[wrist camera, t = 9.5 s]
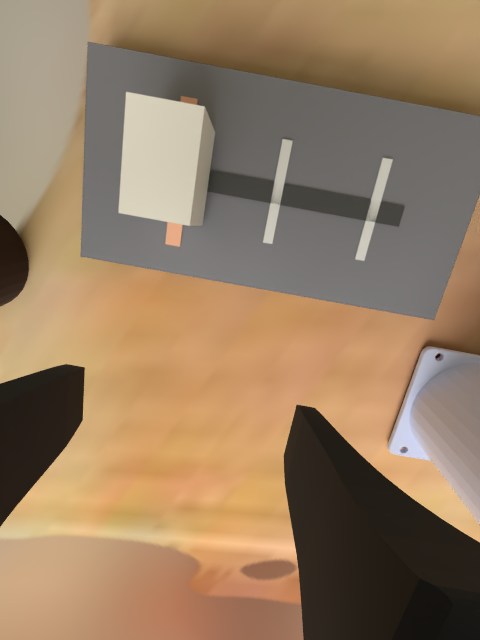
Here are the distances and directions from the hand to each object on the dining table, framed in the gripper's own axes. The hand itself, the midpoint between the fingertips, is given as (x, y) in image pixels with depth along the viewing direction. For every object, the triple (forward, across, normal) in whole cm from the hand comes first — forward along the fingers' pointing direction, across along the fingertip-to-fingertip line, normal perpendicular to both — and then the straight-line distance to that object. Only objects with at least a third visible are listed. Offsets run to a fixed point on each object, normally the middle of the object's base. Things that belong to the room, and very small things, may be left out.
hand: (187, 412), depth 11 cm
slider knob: (+8, +3, -8) cm, 12 cm away
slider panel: (+10, -2, -8) cm, 13 cm away
